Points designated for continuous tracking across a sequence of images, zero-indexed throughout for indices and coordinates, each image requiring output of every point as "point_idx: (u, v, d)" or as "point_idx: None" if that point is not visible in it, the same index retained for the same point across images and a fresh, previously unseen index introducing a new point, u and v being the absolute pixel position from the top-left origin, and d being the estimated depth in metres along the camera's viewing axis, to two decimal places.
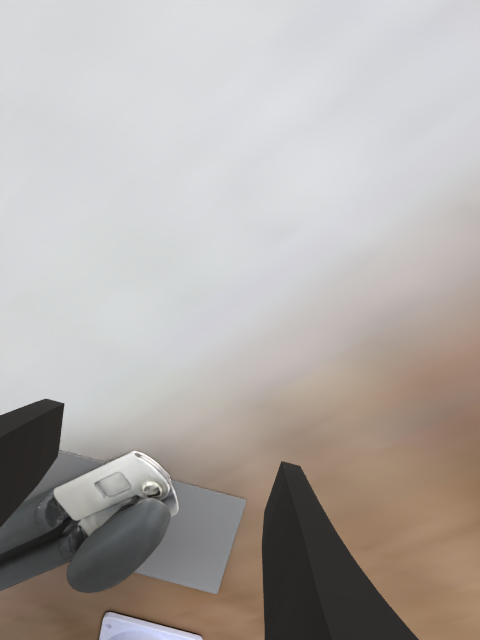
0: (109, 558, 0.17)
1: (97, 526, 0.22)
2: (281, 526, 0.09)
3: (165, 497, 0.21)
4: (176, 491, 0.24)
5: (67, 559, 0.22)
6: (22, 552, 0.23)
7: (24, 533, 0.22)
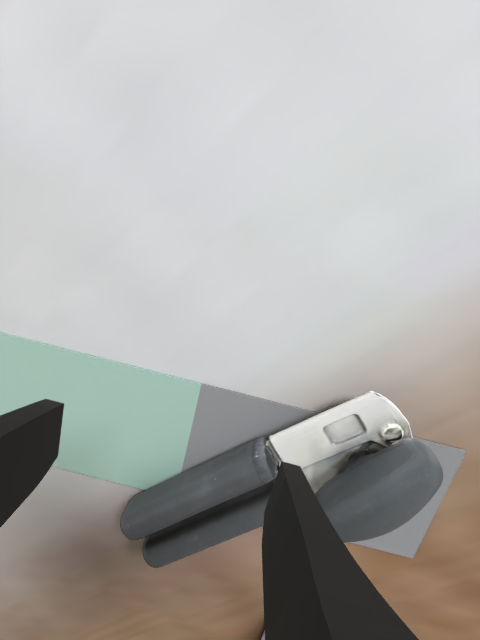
0: (395, 498, 0.15)
1: (313, 478, 0.20)
2: (281, 526, 0.09)
3: None
4: None
5: None
6: (224, 509, 0.21)
7: (242, 484, 0.20)
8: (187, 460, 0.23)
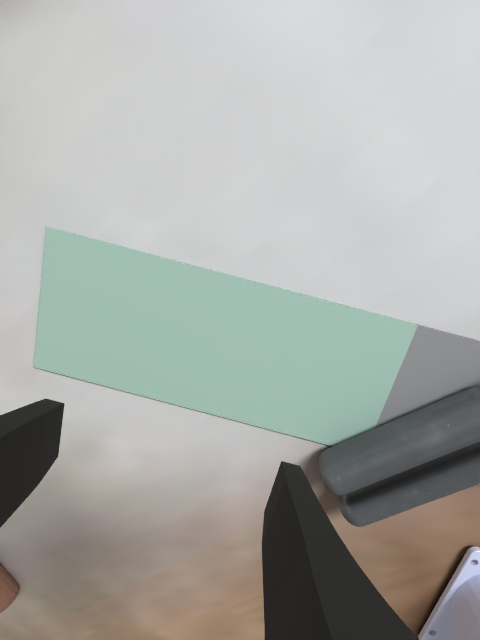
0: None
1: None
2: (281, 526, 0.09)
3: None
4: None
5: None
6: (446, 461, 0.19)
7: None
8: (384, 412, 0.21)
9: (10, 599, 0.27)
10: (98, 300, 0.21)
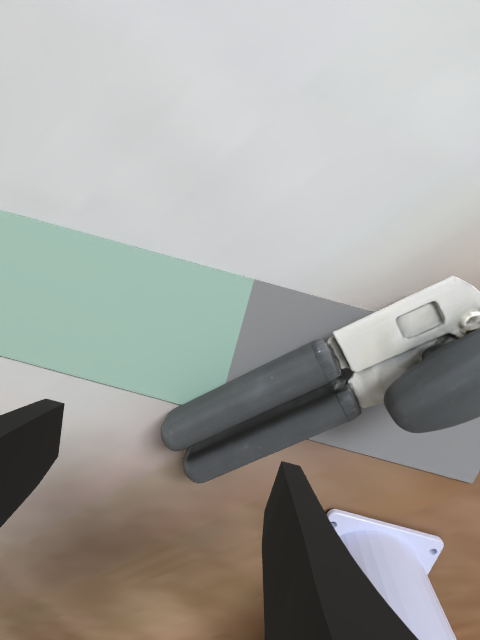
0: None
1: (378, 381, 0.19)
2: (281, 526, 0.09)
3: None
4: None
5: (349, 417, 0.18)
6: (278, 416, 0.19)
7: (304, 381, 0.18)
8: (232, 370, 0.21)
9: None
10: None
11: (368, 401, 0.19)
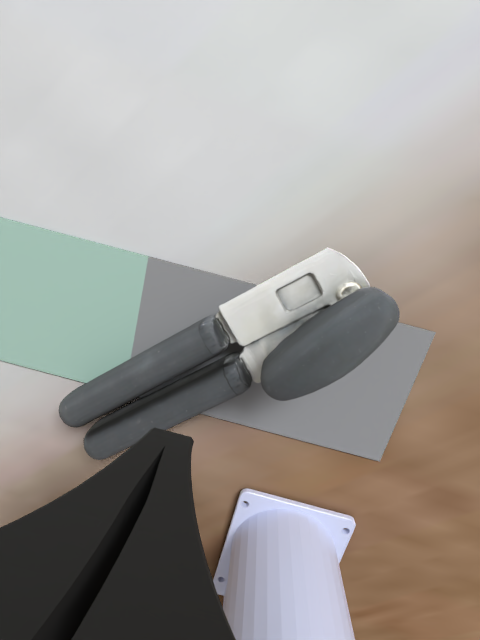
0: (343, 333, 0.14)
1: (266, 355, 0.19)
2: None
3: None
4: None
5: (234, 390, 0.18)
6: (171, 390, 0.19)
7: (187, 354, 0.18)
8: (136, 349, 0.21)
9: None
10: None
11: (260, 376, 0.19)
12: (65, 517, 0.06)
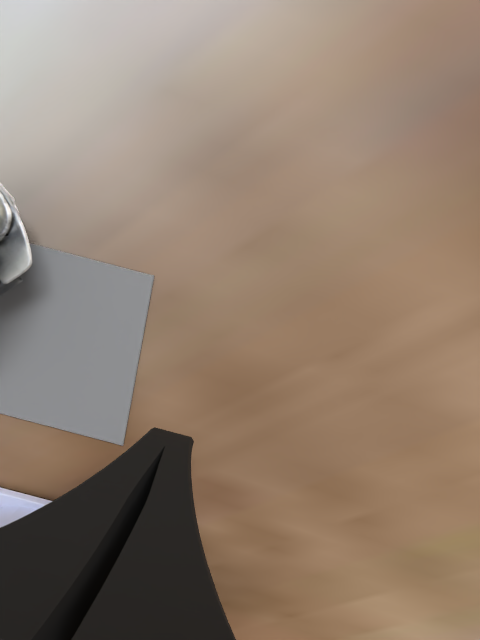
0: None
1: None
2: None
3: (7, 235, 0.13)
4: (47, 265, 0.15)
5: None
6: None
7: None
8: None
9: None
10: None
11: None
12: (65, 517, 0.06)
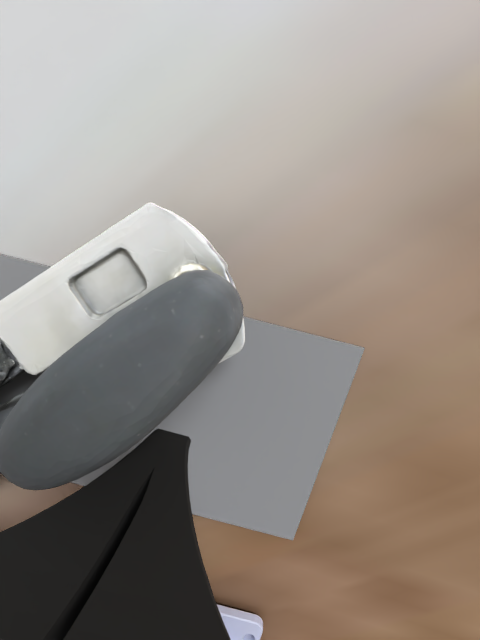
0: (92, 367, 0.06)
1: None
2: None
3: None
4: None
5: None
6: None
7: None
8: None
9: None
10: None
11: None
12: (70, 519, 0.06)
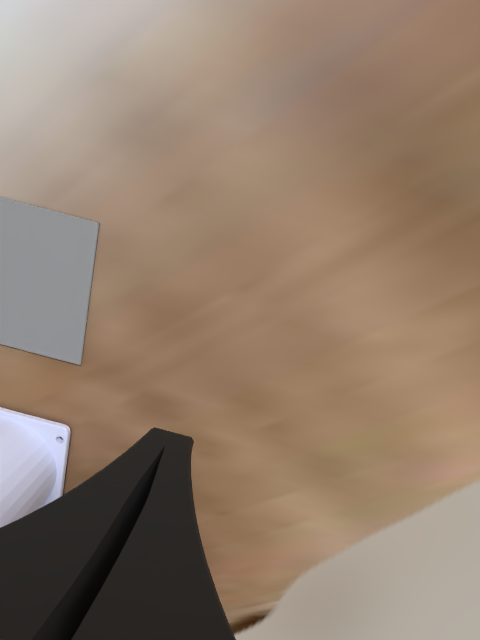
0: None
1: None
2: None
3: None
4: (16, 214, 0.20)
5: None
6: None
7: None
8: None
9: None
10: None
11: None
12: (65, 517, 0.06)
